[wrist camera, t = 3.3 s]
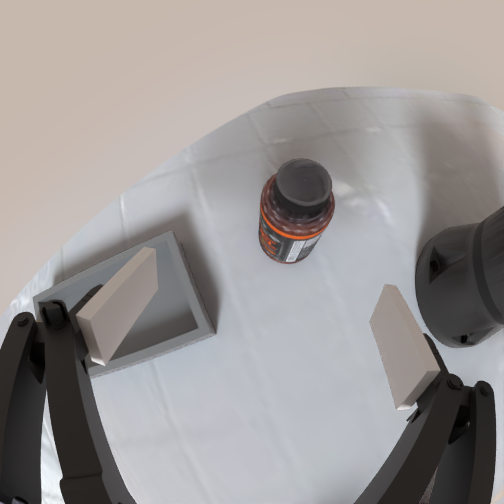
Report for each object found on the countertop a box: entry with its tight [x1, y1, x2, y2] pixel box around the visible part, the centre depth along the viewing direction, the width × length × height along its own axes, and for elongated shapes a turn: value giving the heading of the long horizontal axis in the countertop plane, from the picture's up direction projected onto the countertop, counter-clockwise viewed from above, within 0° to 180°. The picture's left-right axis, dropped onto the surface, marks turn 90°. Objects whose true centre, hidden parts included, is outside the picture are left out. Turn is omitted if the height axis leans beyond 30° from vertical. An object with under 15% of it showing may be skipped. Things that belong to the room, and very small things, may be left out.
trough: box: [33, 230, 216, 379], centre depth 24 cm, size 19×10×5 cm, turn 114°
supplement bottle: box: [259, 159, 335, 264], centre depth 23 cm, size 6×6×11 cm
